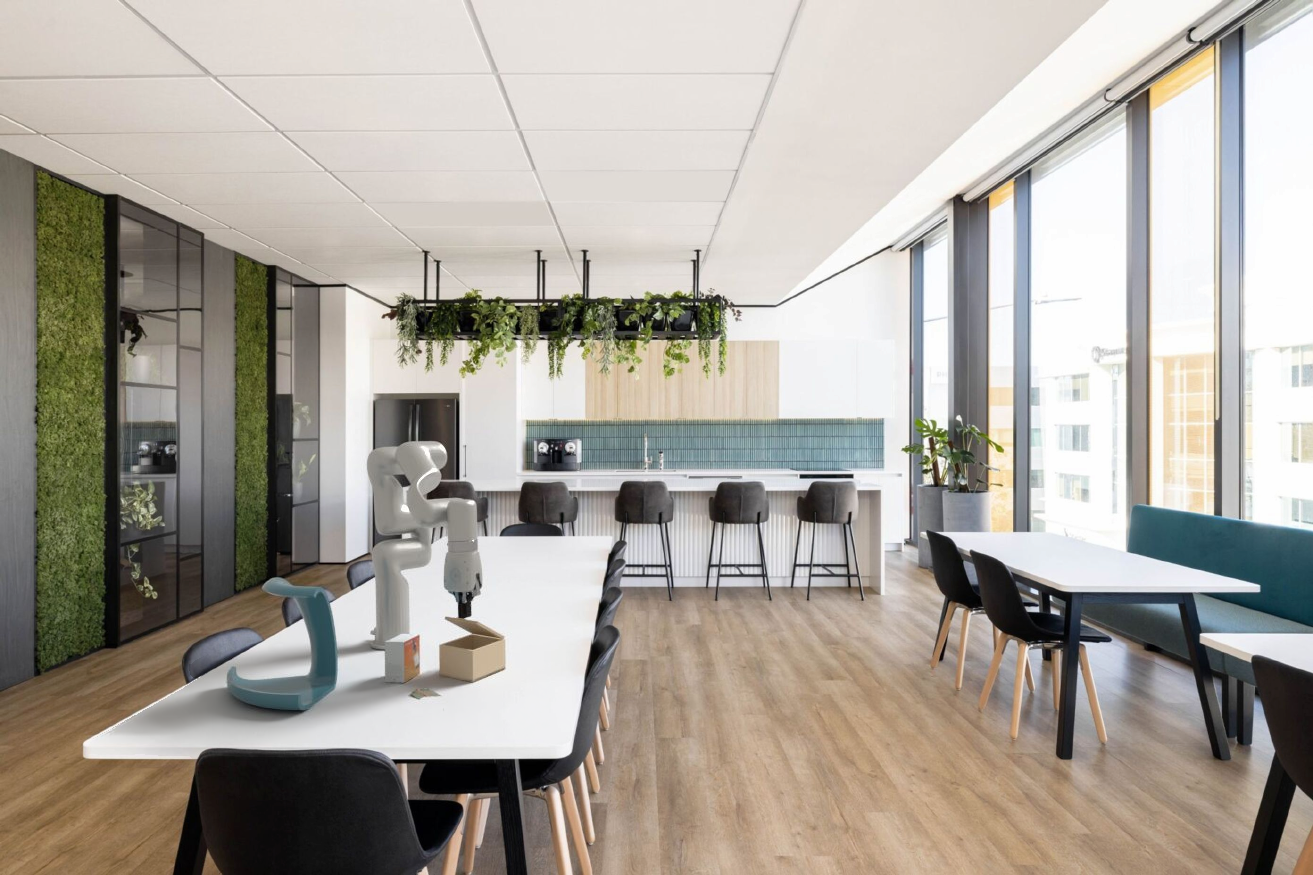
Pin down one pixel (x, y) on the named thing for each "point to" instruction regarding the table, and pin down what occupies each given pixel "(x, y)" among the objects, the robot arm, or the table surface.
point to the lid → (474, 627)
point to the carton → (472, 657)
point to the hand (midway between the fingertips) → (464, 617)
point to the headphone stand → (323, 656)
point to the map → (424, 693)
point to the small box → (402, 658)
